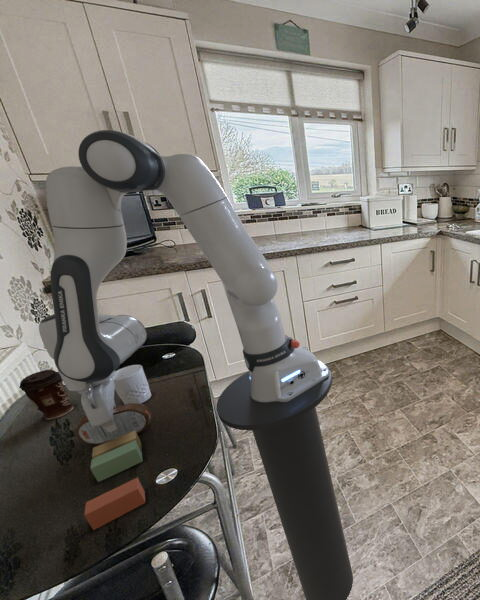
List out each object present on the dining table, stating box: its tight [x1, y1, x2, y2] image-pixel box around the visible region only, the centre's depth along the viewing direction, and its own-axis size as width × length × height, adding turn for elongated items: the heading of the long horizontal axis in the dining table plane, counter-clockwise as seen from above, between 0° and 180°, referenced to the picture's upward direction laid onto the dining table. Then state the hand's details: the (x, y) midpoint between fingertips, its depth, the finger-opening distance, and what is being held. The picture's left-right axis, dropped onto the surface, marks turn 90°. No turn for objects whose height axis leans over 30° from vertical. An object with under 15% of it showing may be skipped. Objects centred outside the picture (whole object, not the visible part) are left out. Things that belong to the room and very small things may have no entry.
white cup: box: [113, 364, 152, 405], centre depth 97 cm, size 8×8×10 cm
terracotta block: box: [83, 477, 146, 531], centre depth 64 cm, size 8×4×4 cm, turn 129°
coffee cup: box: [18, 369, 75, 420], centre depth 94 cm, size 9×8×13 cm
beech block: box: [91, 431, 143, 459], centre depth 77 cm, size 8×4×4 cm, turn 129°
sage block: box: [89, 440, 143, 483], centre depth 74 cm, size 8×4×4 cm, turn 129°
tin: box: [75, 403, 153, 445], centre depth 83 cm, size 15×3×8 cm, turn 113°
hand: (112, 420), depth 82 cm, fingers open, 7 cm apart
